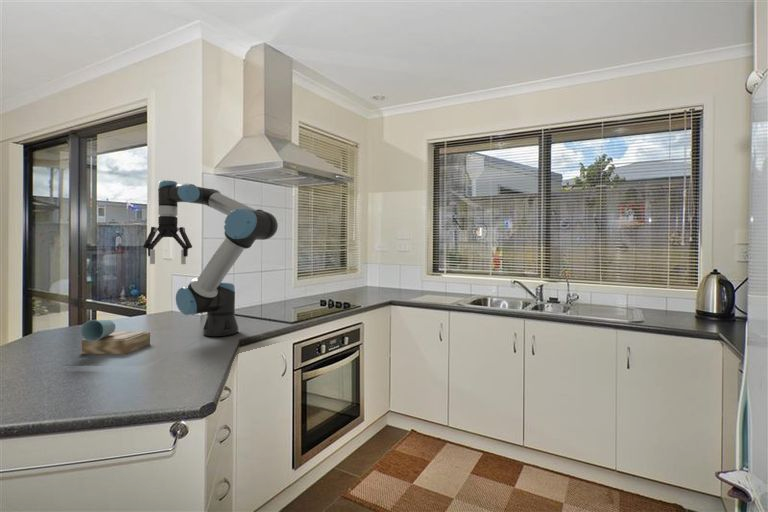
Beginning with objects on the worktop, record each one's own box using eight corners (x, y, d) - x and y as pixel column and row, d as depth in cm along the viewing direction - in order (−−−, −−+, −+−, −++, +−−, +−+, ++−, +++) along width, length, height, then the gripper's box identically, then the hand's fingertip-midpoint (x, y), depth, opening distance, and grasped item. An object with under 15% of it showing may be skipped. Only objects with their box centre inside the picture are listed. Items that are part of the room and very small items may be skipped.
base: (150, 344, 169) (150, 331, 169) (125, 354, 153) (125, 339, 153) (110, 343, 169) (110, 330, 169) (81, 353, 153) (81, 339, 153)
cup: (120, 318, 161) (105, 321, 151) (117, 338, 161) (101, 342, 151) (99, 316, 161) (82, 318, 150) (96, 336, 160) (79, 340, 150)
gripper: (199, 217, 190) (199, 264, 190) (144, 216, 189) (144, 263, 190) (192, 215, 182) (192, 264, 183) (134, 215, 182) (134, 264, 182)
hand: (167, 264), depth 186 cm, fingers open, 13 cm apart
